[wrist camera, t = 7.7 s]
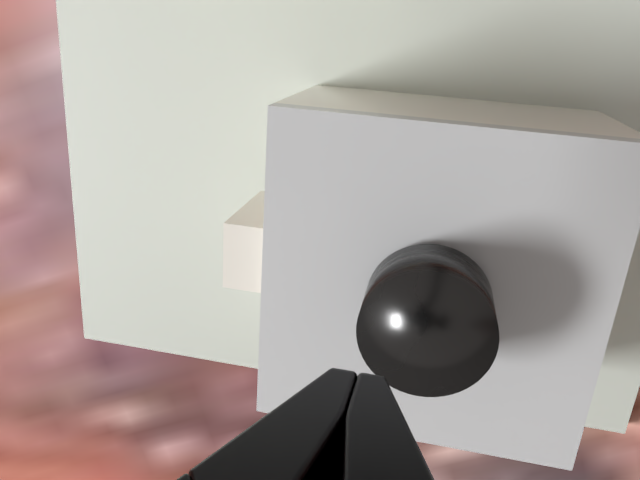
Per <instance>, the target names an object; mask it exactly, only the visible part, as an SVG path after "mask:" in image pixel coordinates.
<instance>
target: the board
mask: <svg viewBox="0 0 640 480" xmlns="http://www.w3.org/2000/svg"><path fill="white" fill-rule="evenodd" d="M56 8H57V20H58V32H59V44H60V56H61V68H62V79H63V91H64V103H65V115H66V127H67V139H68V150H69V162H70V174H71V186H72V198H73V210H74V222H75V233H76V245H77V257H78V269H79V281H80V293H81V305H82V316H83V328H84V338H87V339H93V340H99V341H104V342H110V343H116V344H121V345H127V346H133V347H138V348H144V349H149V350H155V351H161V352H166V353H172V354H178V355H183V356H189V357H195V358H200V359H206V360H212V361H217V362H223V363H228V364H234V365H240V366H245V367H251V368H257V369H258V358H259V331H260V304H261V293H257V292H250V291H244V290H237V289H231V288H225V287H223V223H224V222H225V221H226V220H228V219H229V218H230V217H231V216H232V215H233V214H235V213H236V212H237V211H238V210H239V209H240V208H241V207H243V206H244V205H245V204H246V203H247V202H248V201H249V200H251V199H252V198H253V197H254V196H255V195H256V194H258V193H259V192H260V191H265V168H266V141H267V113H268V105H270V104H273V103H275V102H277V101H280V100H282V99H284V98H287V97H289V96H291V95H294V94H296V93H298V92H301V91H303V90H305V89H308V88H310V87H312V86H315V85H325V86H335V87H346V88H357V89H368V90H379V91H389V92H400V93H411V94H422V95H433V96H443V97H454V98H465V99H476V100H487V101H497V102H508V103H519V104H530V105H541V106H551V107H562V108H573V109H584V110H595V111H600V112H602V113H604V114H606V115H608V116H609V117H611V118H613V119H615V120H617V121H619V122H621V123H623V124H624V125H626V126H628V127H630V128H632V129H634V130H636V131H638V132H639V133H640V0H56ZM639 387H640V229H639V233H638V236H637V240H636V243H635V247H634V250H633V254H632V258H631V261H630V265H629V268H628V272H627V276H626V279H625V283H624V286H623V290H622V293H621V297H620V301H619V304H618V308H617V311H616V315H615V318H614V322H613V326H612V329H611V333H610V336H609V340H608V344H607V347H606V351H605V354H604V358H603V361H602V365H601V369H600V372H599V376H598V379H597V383H596V387H595V390H594V394H593V397H592V401H591V404H590V408H589V412H588V415H587V419H586V422H585V426H584V427H590V428H595V429H601V430H607V431H612V432H618V433H623V434H625V432H626V428H627V425H628V422H629V419H630V416H631V412H632V409H633V406H634V403H635V399H636V396H637V393H638V390H639Z"/></svg>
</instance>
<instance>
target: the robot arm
mask: <svg viewBox="0 0 640 480" xmlns="http://www.w3.org/2000/svg"><path fill="white" fill-rule="evenodd" d="M177 480H434V478H433V476H432V474H431V472H430V470H429V468H428V466H427V464H426V461H425V459H424V457H423V455H422V453H421V451H420V449H419V447H418V445H417V443H416V441H415V438H414V436H413V434H412V432H411V430H410V428H409V426H408V424H407V422H406V420H405V418H404V416H403V413H402V411H401V409H400V407H399V405H398V403H397V401H396V399H395V397H394V395H393V393H392V390H391V388H390V386H389V384H388V382H387V380H386V378H385V377H383V376H380V375H374V374H368V373H360V374H359V375H358V376H357V374H356V373H355V372H354V371H350V370H344V369H338V368H331V369H329V370H327V371H326V372H325V373H323V374H322V375H321V376H319V377H318V378H316V379H315V380H314V381H312V382H311V383H310V384H308V385H307V386H305V387H304V388H303V389H301V390H300V391H299V392H297V393H296V394H294V395H293V396H292V397H290V398H289V399H288V400H286V401H285V402H283V403H282V404H281V405H279V406H278V407H276V408H275V409H274V410H272V411H271V412H270V413H268V414H267V415H265V416H264V417H263V418H261V419H260V420H259V421H257V422H256V423H254V424H253V425H252V426H250V427H249V428H248V429H246V430H245V431H243V432H242V433H241V434H239V435H238V436H237V437H235V438H234V439H232V440H231V441H230V442H228V443H227V444H226V445H224V446H223V447H221V448H220V449H219V450H217V451H216V452H215V453H213V454H212V455H210V456H209V457H208V458H206V459H205V460H203V461H202V462H201V463H199V464H198V465H197V466H195V467H194V468H192V469H191V470H190V471H189V474H184V475H182V476H181V477H180V478H178V479H177Z"/></svg>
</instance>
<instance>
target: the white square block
mask: <svg viewBox="0 0 640 480" xmlns="http://www.w3.org/2000/svg"><path fill="white" fill-rule="evenodd" d="M639 229H640V133H639V132H638V131H636V130H634V129H632V128H630V127H628V126H626V125H624V124H623V123H621V122H619V121H617V120H615V119H613V118H611V117H609V116H608V115H606V114H604V113H602V112H600V111H595V110H584V109H573V108H562V107H551V106H541V105H530V104H519V103H508V102H497V101H487V100H476V99H465V98H454V97H443V96H433V95H422V94H411V93H400V92H389V91H379V90H368V89H357V88H346V87H335V86H325V85H315V86H312V87H310V88H308V89H305V90H303V91H301V92H298V93H296V94H294V95H291V96H289V97H287V98H284V99H282V100H280V101H277V102H275V103H273V104H270V105H268V113H267V141H266V168H265V191H260V192H259V193H258V194H256V195H255V196H254V197H253V198H252V199H251V200H249V201H248V202H247V203H246V204H245V205H244V206H243V207H241V208H240V209H239V210H238V211H237V212H236V213H235V214H233V215H232V216H231V217H230V218H229V219H228V220H226V221H225V222H224V223H223V287H225V288H231V289H237V290H244V291H250V292H257V293H261V304H260V331H259V358H258V385H257V411H260V412H265V413H270V412H271V411H272V410H274V409H275V408H276V407H278V406H279V405H281V404H282V403H283V402H285V401H286V400H288V399H289V398H290V397H292V396H293V395H294V394H296V393H297V392H299V391H300V390H301V389H303V388H304V387H305V386H307V385H308V384H310V383H311V382H312V381H314V380H315V379H316V378H318V377H319V376H321V375H322V374H323V373H325V372H326V371H327V370H329V369H331V368H338V369H344V370H350V371H354V372H355V373H356V374H357V376H358V375H359V374H360V373H368V374H374V373H373V372H372V371H371V370H370V368H369V367H368V366H367V364H366V363H365V361H364V359H363V358H362V355H361V353H360V351H359V347H358V344H357V338H356V324H357V319H358V315H359V312H360V309H361V305H362V302H363V299H364V296H365V292H366V289H367V286H368V283H369V280H370V278H371V276H372V274H373V272H374V270H375V269H376V268H377V266H378V265H379V264H380V263H381V262H382V261H383V260H384V259H385V258H386V257H388V256H389V255H390V254H392V253H394V252H395V251H397V250H400V249H402V248H404V247H408V246H411V245H417V244H439V245H444V246H447V247H451V248H454V249H456V250H458V251H460V252H462V253H464V254H465V255H467V256H468V257H470V258H471V259H472V260H473V261H475V262H476V263H477V265H478V266H479V267H480V268H481V269H482V270H483V272H484V273H485V275H486V277H487V279H488V281H489V283H490V286H491V289H492V294H493V299H494V305H495V311H496V316H497V322H498V328H499V348H498V352H497V355H496V358H495V360H494V362H493V364H492V366H491V367H490V369H489V370H488V372H487V373H486V374H485V375H484V376H483V377H482V378H481V379H480V380H479V381H478V382H477V383H475V384H474V385H472V386H471V387H469V388H467V389H465V390H463V391H461V392H458V393H455V394H452V395H447V396H442V397H421V396H415V395H411V394H407V393H404V392H401V391H399V390H397V389H395V388H393V387H391V386H390V388H391V390H392V393H393V395H394V397H395V399H396V401H397V403H398V405H399V407H400V409H401V411H402V413H403V416H404V418H405V420H406V422H407V424H408V426H409V428H410V430H411V432H412V434H413V436H414V438H415V441H418V442H423V443H428V444H434V445H439V446H444V447H450V448H455V449H460V450H465V451H471V452H476V453H481V454H486V455H492V456H497V457H502V458H508V459H513V460H518V461H523V462H529V463H534V464H539V465H544V466H550V467H555V468H560V469H566V470H571V471H572V469H573V465H574V462H575V458H576V455H577V451H578V447H579V444H580V440H581V437H582V433H583V430H584V426H585V422H586V419H587V415H588V412H589V408H590V404H591V401H592V397H593V394H594V390H595V387H596V383H597V379H598V376H599V372H600V369H601V365H602V361H603V358H604V354H605V351H606V347H607V344H608V340H609V336H610V333H611V329H612V326H613V322H614V318H615V315H616V311H617V308H618V304H619V301H620V297H621V293H622V290H623V286H624V283H625V279H626V276H627V272H628V268H629V265H630V261H631V258H632V254H633V250H634V247H635V243H636V240H637V236H638V233H639ZM374 375H375V374H374Z"/></svg>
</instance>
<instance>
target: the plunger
mask: <svg viewBox="0 0 640 480" xmlns="http://www.w3.org/2000/svg"><path fill="white" fill-rule="evenodd" d="M356 338H357V344H358V347H359V351H360V353H361V355H362V358H363V359H364V361H365V363H366V364H367V366H368V367H369V368H370V370H371V371H372V372H373V373H374V374H375V375H380V376H383V377H385V378H386V380H387V382H388V384H389V386H391V387H393V388H395V389H397V390H399V391H401V392H404V393H407V394H411V395H415V396H421V397H442V396H447V395H452V394H455V393H458V392H461V391H463V390H465V389H467V388H469V387H471V386H472V385H474V384H475V383H477V382H478V381H479V380H480V379H481V378H482V377H483V376H484V375H485V374H486V373H487V372H488V370H489V369H490V367H491V366H492V364H493V362H494V360H495V358H496V355H497V352H498V348H499V328H498V322H497V316H496V311H495V305H494V299H493V294H492V289H491V286H490V283H489V281H488V279H487V277H486V275H485V273H484V272H483V270H482V269H481V268H480V267H479V266H478V265H477V263H476V262H475V261H473V260H472V259H471V258H470V257H468V256H467V255H465V254H464V253H462V252H460V251H458V250H456V249H454V248H451V247H447V246H444V245H439V244H417V245H411V246H408V247H404V248H402V249H400V250H397V251H395V252H394V253H392V254H390V255H389V256H388V257H386V258H385V259H384V260H383V261H382V262H381V263H380V264H379V265H378V266H377V268H376V269H375V270H374V272H373V274H372V276H371V278H370V280H369V283H368V286H367V289H366V292H365V296H364V299H363V302H362V305H361V309H360V312H359V315H358V319H357V324H356Z"/></svg>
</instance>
